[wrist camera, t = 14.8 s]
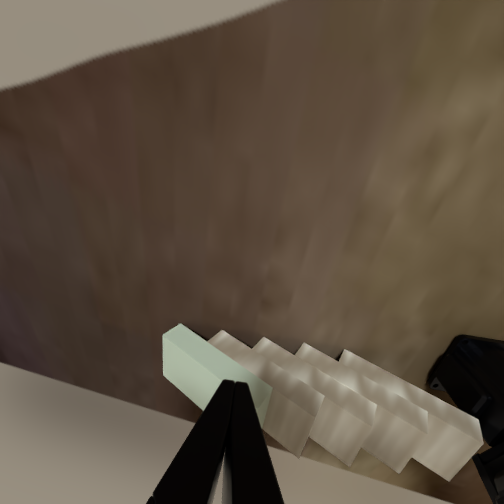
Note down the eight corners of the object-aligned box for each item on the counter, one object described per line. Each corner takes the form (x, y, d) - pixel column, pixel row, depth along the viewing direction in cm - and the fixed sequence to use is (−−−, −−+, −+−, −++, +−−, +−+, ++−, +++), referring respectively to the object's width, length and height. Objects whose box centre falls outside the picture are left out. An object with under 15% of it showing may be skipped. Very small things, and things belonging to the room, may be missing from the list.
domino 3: (263, 336, 23) (376, 404, 18) (255, 374, 25) (355, 444, 20) (251, 349, 21) (372, 427, 16) (244, 387, 23) (349, 467, 18)
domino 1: (180, 323, 23) (272, 387, 18) (179, 361, 25) (262, 428, 20) (162, 334, 21) (258, 408, 16) (163, 375, 23) (248, 450, 18)
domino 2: (222, 329, 23) (324, 395, 18) (217, 367, 25) (308, 436, 20) (207, 341, 21) (315, 417, 16) (203, 381, 23) (298, 458, 18)
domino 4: (303, 342, 23) (427, 411, 18) (292, 379, 25) (401, 450, 20) (294, 355, 21) (427, 434, 16) (283, 393, 23) (399, 473, 18)
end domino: (344, 348, 23) (478, 419, 18) (330, 385, 25) (447, 457, 20) (338, 362, 21) (483, 443, 16) (323, 399, 23) (449, 481, 18)
